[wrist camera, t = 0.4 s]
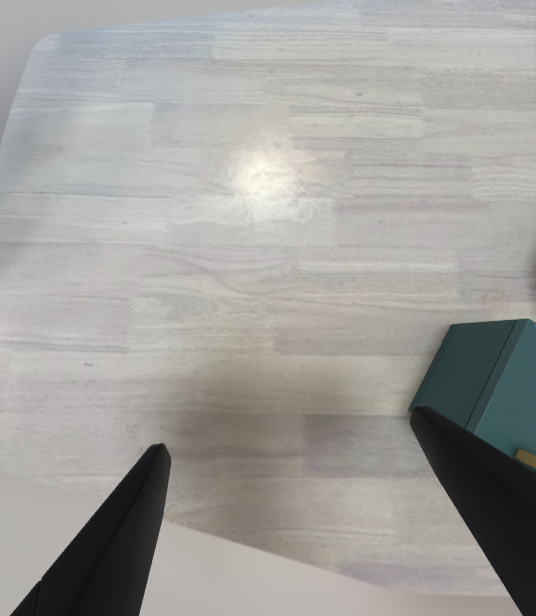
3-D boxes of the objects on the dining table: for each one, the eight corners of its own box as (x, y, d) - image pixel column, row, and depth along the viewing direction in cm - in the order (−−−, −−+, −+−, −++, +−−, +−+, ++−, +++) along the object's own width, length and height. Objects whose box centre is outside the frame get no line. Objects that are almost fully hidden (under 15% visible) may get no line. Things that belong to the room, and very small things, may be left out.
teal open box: (505, 469, 22) (597, 520, 16) (408, 409, 23) (460, 436, 17) (546, 378, 24) (646, 393, 17) (451, 324, 24) (516, 319, 18)
